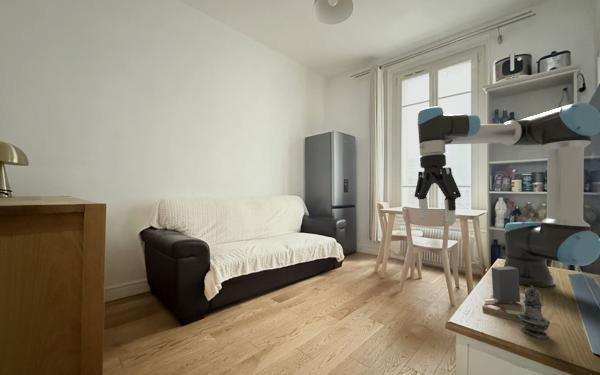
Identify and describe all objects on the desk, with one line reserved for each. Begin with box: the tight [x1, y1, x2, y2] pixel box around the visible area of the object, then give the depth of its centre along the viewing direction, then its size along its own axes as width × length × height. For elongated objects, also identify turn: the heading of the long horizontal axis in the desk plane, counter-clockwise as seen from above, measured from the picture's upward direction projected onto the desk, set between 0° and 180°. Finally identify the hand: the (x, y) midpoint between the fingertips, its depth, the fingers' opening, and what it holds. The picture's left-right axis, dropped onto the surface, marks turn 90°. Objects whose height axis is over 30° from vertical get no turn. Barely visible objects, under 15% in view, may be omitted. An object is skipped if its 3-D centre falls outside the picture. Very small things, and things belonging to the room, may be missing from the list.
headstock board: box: [481, 292, 525, 323], centre depth 76 cm, size 20×10×2 cm, turn 130°
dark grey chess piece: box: [518, 285, 551, 340], centre depth 62 cm, size 6×6×12 cm
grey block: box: [483, 266, 521, 304], centre depth 76 cm, size 10×3×10 cm, turn 95°
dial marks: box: [486, 305, 523, 315], centre depth 71 cm, size 3×9×1 cm, turn 46°
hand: (436, 219), depth 81 cm, fingers open, 13 cm apart
